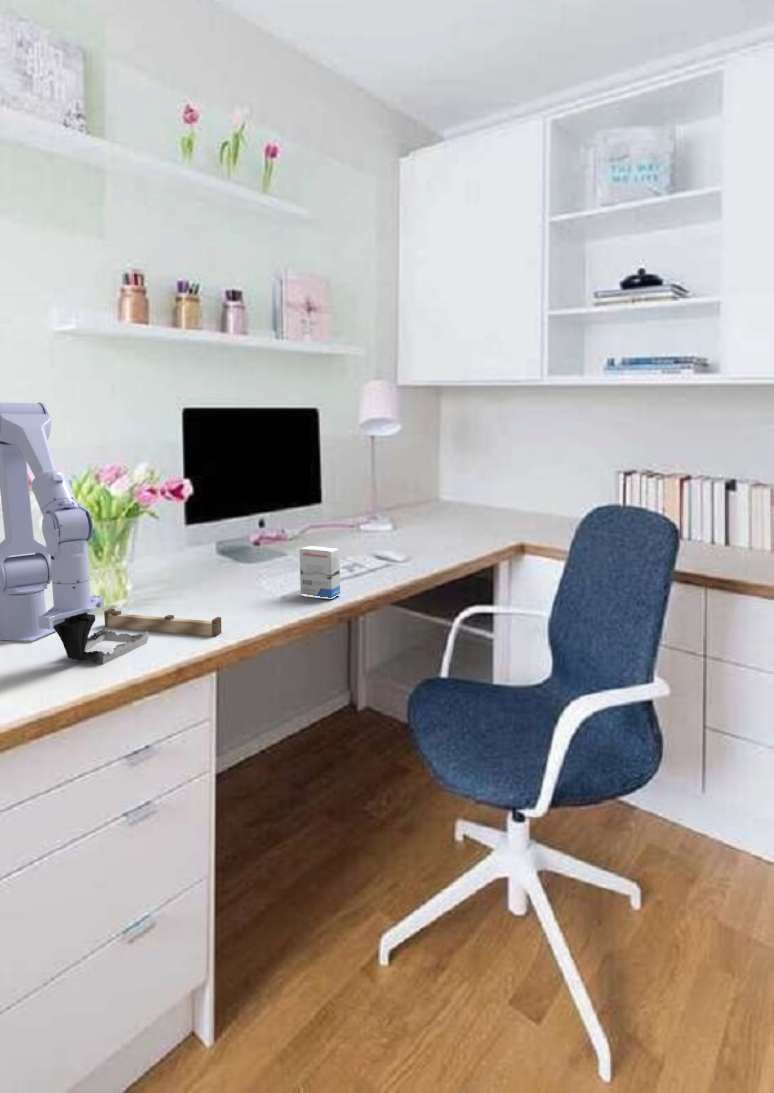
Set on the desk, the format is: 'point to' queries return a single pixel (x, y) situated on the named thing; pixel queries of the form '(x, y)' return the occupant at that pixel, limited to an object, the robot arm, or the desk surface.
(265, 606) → the desk surface
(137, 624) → the ledge
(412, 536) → the desk surface
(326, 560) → the ink box
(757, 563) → the desk surface
